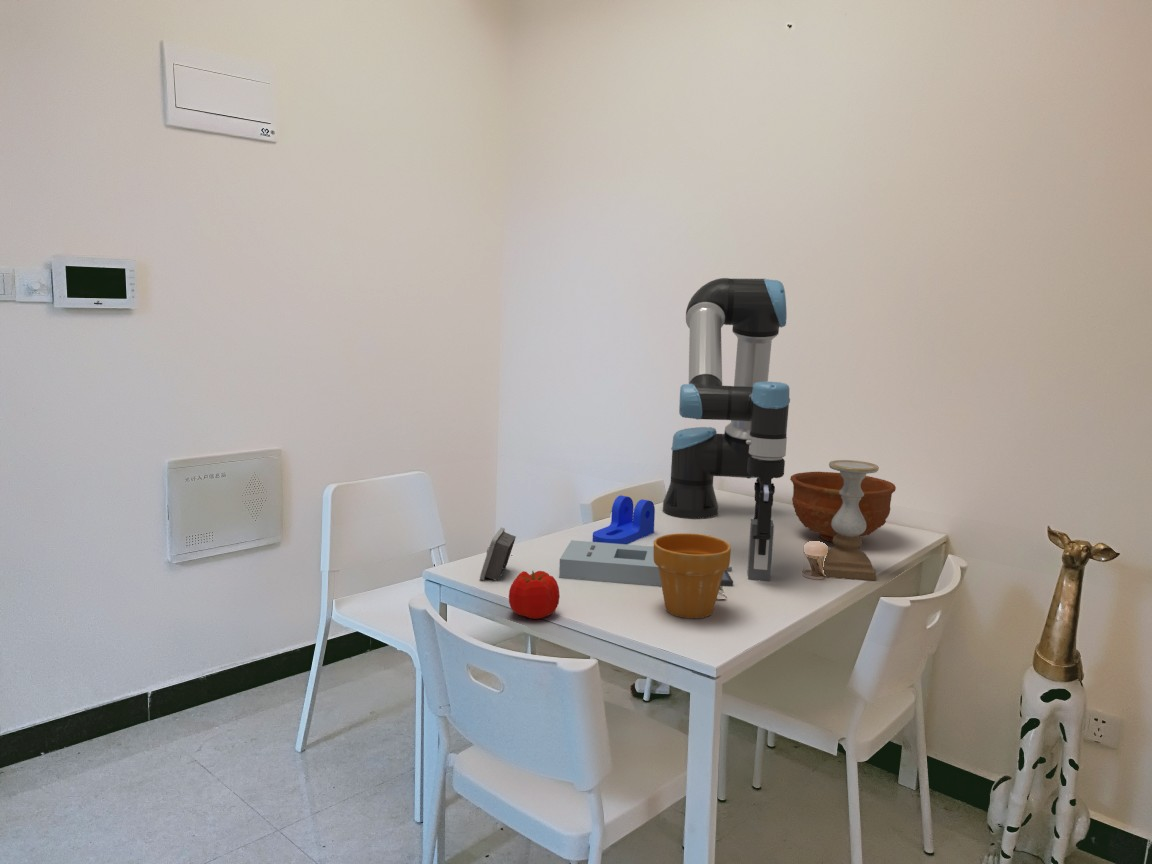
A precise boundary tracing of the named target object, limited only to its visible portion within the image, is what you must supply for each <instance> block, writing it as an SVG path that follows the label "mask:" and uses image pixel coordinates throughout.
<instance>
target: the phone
mask: <svg viewBox="0 0 1152 864" xmlns="http://www.w3.org/2000/svg"><path fill="white" fill-rule="evenodd" d="M720 585H721V586H722V587H733V586H734V581H733V579H732V577H731V576H730V574H729V571H727V570H725V571H724V573H723V576H722V580H721V584H720ZM721 586H720V587H721Z"/></svg>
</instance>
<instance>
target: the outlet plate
mask: <svg viewBox="0 0 1152 864" xmlns="http://www.w3.org/2000/svg"><path fill="white" fill-rule="evenodd" d="M558 577H559V579H571V580H572V579H573V580H581V581H582V580H583V581H584V580H585V581H596V582H606V583H607V582H609V583H616V584H617V583H618V584H619V583H621V584H630V585H631V584H632V585H644V586H653V587H654V586H656V587H662V585H661V579H660V573H659V568H658V566H657V565H656V564H655V563H654V545H652V546H649V545H639V544H638V545H637V544H614V543H601V542H593V541H585V540H573V539H571V540H570V542H569V543H568V545H567V547H566V548H565V549H564V552H562V554H561V556H560V558H559V573H558Z"/></svg>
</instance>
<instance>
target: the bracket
mask: <svg viewBox="0 0 1152 864" xmlns="http://www.w3.org/2000/svg"><path fill="white" fill-rule="evenodd" d="M637 501H638V502H637V503H636V504H635V506H634V501H633V499H632V498H631V497H630V496H626V495H621V494H620V495H618V496H616V498H615V499H614V501H613V504H612V507H611V517H610V518H611V520H610V524H609V525H608V526H605V527H603V528H600V529H598V530H595V531H593V532H592V542H601V543H614V544H627V545H630V544H632V543H633V542H636V541H638V540H640V539H643V538H645V537H648V536H651V535H653V534H654V533H655V518H656V517H655V516H656V512H655V511H656V509H655V505H654V502H653V501H652V500H647V499H639V500H637Z"/></svg>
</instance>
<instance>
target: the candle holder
mask: <svg viewBox="0 0 1152 864" xmlns="http://www.w3.org/2000/svg"><path fill="white" fill-rule="evenodd" d="M828 466H829V468H830V469H832V470H834V471H837V472H838V471H839V473H840V475H841V476H842V478H843V480H844V485H843V487H842V489H841V490H840V491H839V494H840V495H841V498H842V501H843V503H842V506H841V508H840V509H839V510H838V512H837V513H836V514H835V515H834V517H833V519H832V522H831V525H832V528H833V529H834V531H835V532H837V534H836V535H835V536H834V537H833V542H832V543H833V544H834V546H833V547H830V548H827V549H828V553H827V556H826V558H825V561H824V567H823V570H824V574H825V575H826V576H827V577H826V578H829V577H835V578H834V579H841V578H845V579H844V580H855V579H861V580H860V581H873V582H874V581H876V575H877V574H876V573H877V572H876V570H875V568H874V567H873V565H872V562H871V560H870V558H869V556H867V554H866V553H865V552H864V551H862V550H861V549H860V547H861V546H863V540H862V538H861V537H859V535H860V534H862V533H864V531H865V530H866V521H865V519H864V517H863V515H862V513H861V511H860V509H859V501H860V500H861V497H863V496H864V493H863V492H862V490H861V482H862V480H863V479H864V478H865V477H866V476H867V474H875V473H878V471H879V467H880V466H879V465H877V464H874V463H871V462H867V461H863V460H862V461H861V460H854V459H853V460H849V459H837V460H831V461H830V462H829V463H828Z"/></svg>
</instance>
